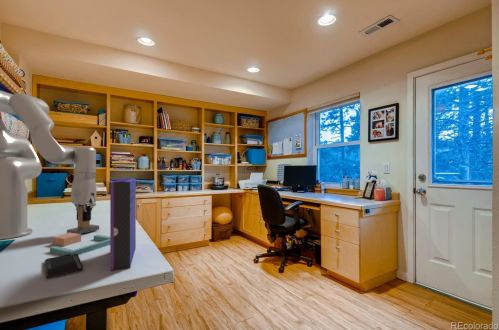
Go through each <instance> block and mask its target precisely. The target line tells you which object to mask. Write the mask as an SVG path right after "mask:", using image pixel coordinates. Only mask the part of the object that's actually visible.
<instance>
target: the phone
mask: <svg viewBox="0 0 499 330" xmlns="http://www.w3.org/2000/svg"><path fill="white" fill-rule="evenodd" d="M83 270H84V266H83V264H82V261H81V258H80V257H79V255H78V254H76V253H75V254H74V255H59V256H54V257H49V258H46V259H45V260H44V273H45V274H44V275H45V279H46V280H51V279H52V280H53V279H57V278H61V277H65V276H69V275H73V274H78V273H81V272H82V271H83Z"/></svg>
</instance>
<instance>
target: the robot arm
mask: <svg viewBox="0 0 499 330" xmlns="http://www.w3.org/2000/svg"><path fill="white" fill-rule="evenodd" d="M0 113H6V114H9V115H16V116H17V117H18V118H19V119H20V121H21V122H22V123H23V125H25V127H26V128H27V129H28V130H29V131H30V138H31V142H30V140H28V139H27V137H24V136H23V135H19V134H14V133H11V132H10V131H9V130H8V128H7V126H6V124H5V122H4V120H3V119H2V118H1V117H0V240H5V239H6V240H8V239H14V238H20V237H24V236H27V235H30V234H32V233H33V229H32V228H29V227H28V188H27V187H28V186H27V184H26V183H25V180H32V179H36V178H38V177H39V176H40V175H41V173H42V171H43V167H42V163H41V160H40V159H39V156H38V155H37V152H38V153H39V154H40V156H41V157H42V158H43V159H44V160H46V161H47V162H48V163H51V164H54V165H73V180H72V183H71V191H70V193H71V194H70V202H71V203H72V204H73V205H74V206H75V210H76V221H78V206H84V212H83V217H82V221H83V222H85V221H90V222H91V221H92V212H93V208H95V207H96V206H97V194H98V193H97V183H96V175H97V174H96V173H97V171H96V170H97V169H96V168H97V163H96V162H97V150H96V148H94V147H92V146H91V147H89V146H76V147H75V146H71V145H70V146H69V145H68V146H67V145H62V144H61V145H60V144H59V143H58V141H57V140H56V139H55V138H54V137H53V135H52V133H51V132H50V131H52V130H53V129H54V127H55V121H53V120H52V118H51V117H50V116H49V113H50V106H49V105H48V103H46V102H45V100H43V99H40V98H38V97H35V96H32V95H29V94H26V93H15V94H13V93H9V92H6V91H3V90H0ZM36 151H37V152H36Z"/></svg>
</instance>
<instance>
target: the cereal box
mask: <svg viewBox="0 0 499 330" xmlns="http://www.w3.org/2000/svg"><path fill="white" fill-rule="evenodd" d="M136 183H137V180H136V178H132V177H131V178H129V177H128V178H119V179H116V180H114V181H110V183H109V184H110V191H109V192H110V194H109V195H110V201H109V203H110V205H109V207H110V209H109V210H110V212H109V213H110V217H109V219H110V221H109V223H110V224H109V225H110V229H109V230H110V231H109V233H110V235H109V237H110V245H109V249H110V250H109V251H110V253H109V257H110V258H109V259H110V260H109V265H110V266H109V267H110V269H109V270H110V272H112V271H118V270H125V269H126V270H127V269H131V266H132V262H133V259H134V255H135V251H136V246H137V245H136V243H137V242H136V239H137V238H136V237H137V236H136V231H137V228H136V226H137V224H136V222H137V221H136V218H137V216H136V215H137V214H136V212H137V210H136V208H137V207H136V206H137V205H136V204H137V203H136V202H137V198H136V197H137V196H136V193H137V192H136V190H137V187H136V186H137V184H136Z"/></svg>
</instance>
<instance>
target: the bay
mask: <svg viewBox="0 0 499 330" xmlns="http://www.w3.org/2000/svg"><path fill="white" fill-rule="evenodd" d="M93 240H95V241H98V242H96V243H93V244H89V245H85V246H82V247H79V248H74V249H70V248H65V247H63V246H58V245H53V246H51V247H49V253H51V254H52V253H53V254H56V255H59V256H64V255H74V254H75V253H76V254H78V256H79V255H82V254H84V253H89V252H91V251H95V250H97V249H100V248H103V247H107V246H110V235H108V236H107V235H102V234H95V235H93Z"/></svg>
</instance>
